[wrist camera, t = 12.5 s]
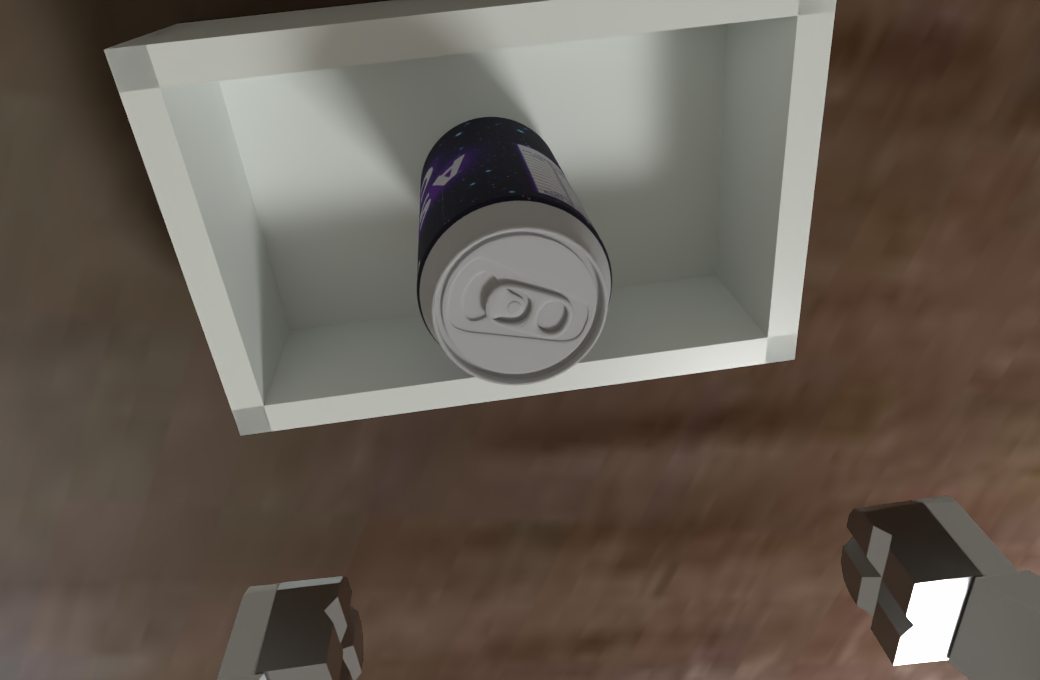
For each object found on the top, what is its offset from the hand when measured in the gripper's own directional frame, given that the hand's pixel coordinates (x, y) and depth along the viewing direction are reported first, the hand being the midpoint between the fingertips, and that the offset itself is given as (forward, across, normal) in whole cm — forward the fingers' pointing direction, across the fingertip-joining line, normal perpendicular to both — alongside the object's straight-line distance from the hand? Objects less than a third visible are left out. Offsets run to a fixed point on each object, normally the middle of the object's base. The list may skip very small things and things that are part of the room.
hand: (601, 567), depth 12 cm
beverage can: (+22, +1, 0) cm, 22 cm away
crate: (+22, +1, 0) cm, 22 cm away
